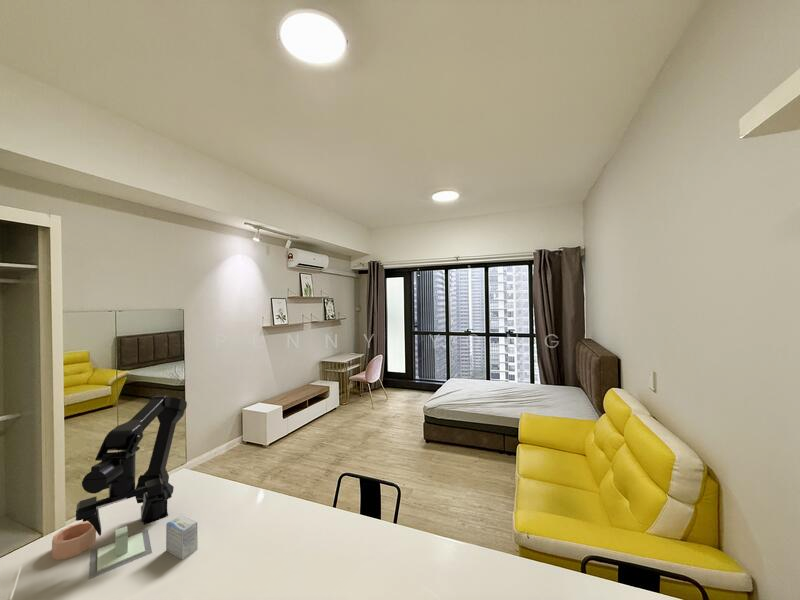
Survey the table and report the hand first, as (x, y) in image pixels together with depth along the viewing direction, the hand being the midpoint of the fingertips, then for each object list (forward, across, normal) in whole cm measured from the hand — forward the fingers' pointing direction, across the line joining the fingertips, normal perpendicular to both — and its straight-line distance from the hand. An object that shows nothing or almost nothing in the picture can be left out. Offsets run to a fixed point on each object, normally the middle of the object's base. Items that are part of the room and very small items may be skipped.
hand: (122, 526), depth 92 cm
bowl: (+8, +10, -11) cm, 17 cm away
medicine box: (+8, -13, +11) cm, 19 cm away
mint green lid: (+7, 0, 0) cm, 7 cm away
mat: (+8, 0, 0) cm, 8 cm away
